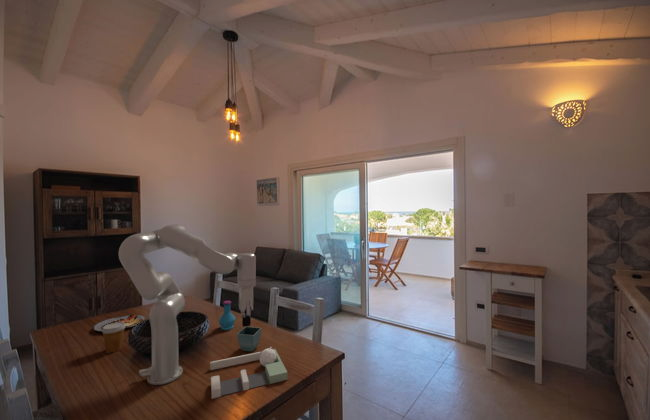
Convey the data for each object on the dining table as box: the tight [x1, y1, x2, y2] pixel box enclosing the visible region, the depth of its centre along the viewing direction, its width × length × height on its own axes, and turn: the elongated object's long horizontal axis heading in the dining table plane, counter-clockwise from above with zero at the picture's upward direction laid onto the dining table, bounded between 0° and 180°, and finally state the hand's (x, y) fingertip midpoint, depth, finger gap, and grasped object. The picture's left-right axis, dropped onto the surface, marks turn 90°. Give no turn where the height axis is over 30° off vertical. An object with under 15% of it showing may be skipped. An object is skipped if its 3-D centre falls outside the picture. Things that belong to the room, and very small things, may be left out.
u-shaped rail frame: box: [209, 348, 288, 400], centre depth 116 cm, size 28×21×3 cm
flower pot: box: [237, 326, 262, 352], centre depth 137 cm, size 9×9×9 cm
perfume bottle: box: [218, 300, 237, 331], centre depth 164 cm, size 9×9×15 cm
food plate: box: [93, 314, 146, 332], centre depth 168 cm, size 25×23×4 cm
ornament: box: [258, 346, 276, 368], centre depth 123 cm, size 7×7×8 cm
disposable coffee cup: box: [101, 322, 126, 354], centre depth 138 cm, size 10×10×12 cm
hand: (246, 325), depth 120 cm, fingers closed
